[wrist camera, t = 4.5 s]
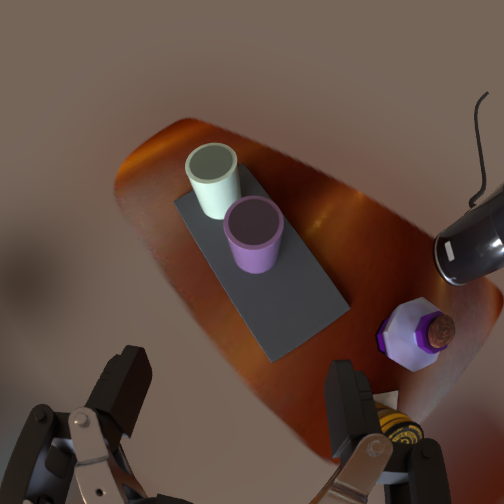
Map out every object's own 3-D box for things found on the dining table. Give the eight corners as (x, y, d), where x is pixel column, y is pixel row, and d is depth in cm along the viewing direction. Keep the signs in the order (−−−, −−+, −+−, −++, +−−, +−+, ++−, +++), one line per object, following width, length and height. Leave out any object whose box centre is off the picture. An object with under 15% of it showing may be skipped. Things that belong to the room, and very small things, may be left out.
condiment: (339, 398, 29) (375, 422, 18) (397, 390, 29) (448, 403, 18) (335, 447, 27) (365, 486, 16) (392, 437, 27) (437, 465, 15)
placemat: (243, 165, 41) (242, 162, 40) (349, 308, 33) (350, 308, 32) (174, 203, 39) (173, 201, 38) (271, 362, 31) (271, 363, 31)
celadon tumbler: (229, 176, 39) (221, 135, 31) (250, 205, 38) (247, 166, 29) (193, 196, 38) (177, 158, 30) (213, 227, 37) (199, 192, 28)
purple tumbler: (262, 221, 37) (262, 185, 28) (288, 257, 35) (296, 229, 26) (224, 244, 36) (212, 213, 27) (248, 282, 34) (243, 261, 26)
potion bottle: (385, 381, 30) (435, 393, 18) (352, 332, 32) (394, 325, 21) (427, 340, 31) (482, 333, 19) (397, 293, 33) (447, 270, 22)
